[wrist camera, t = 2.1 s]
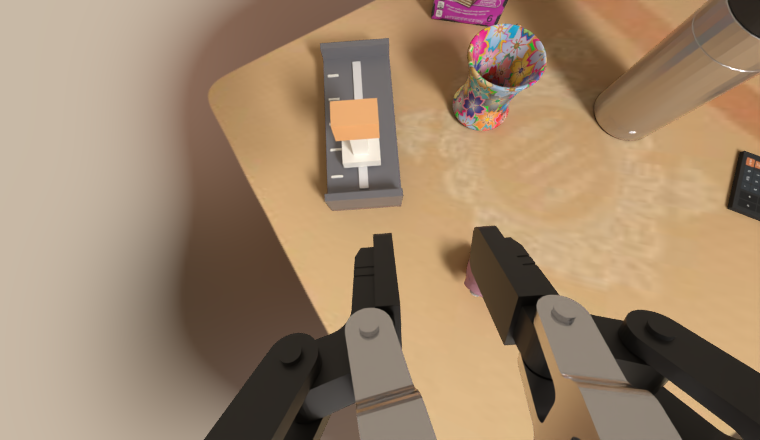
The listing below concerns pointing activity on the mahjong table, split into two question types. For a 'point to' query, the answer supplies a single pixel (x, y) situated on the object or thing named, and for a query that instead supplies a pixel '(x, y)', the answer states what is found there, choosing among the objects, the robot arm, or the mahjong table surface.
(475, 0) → the candy bar box
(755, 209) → the calculator
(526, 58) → the mug
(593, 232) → the mahjong table surface
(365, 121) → the fader knob
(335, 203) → the fader console
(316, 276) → the mahjong table surface
